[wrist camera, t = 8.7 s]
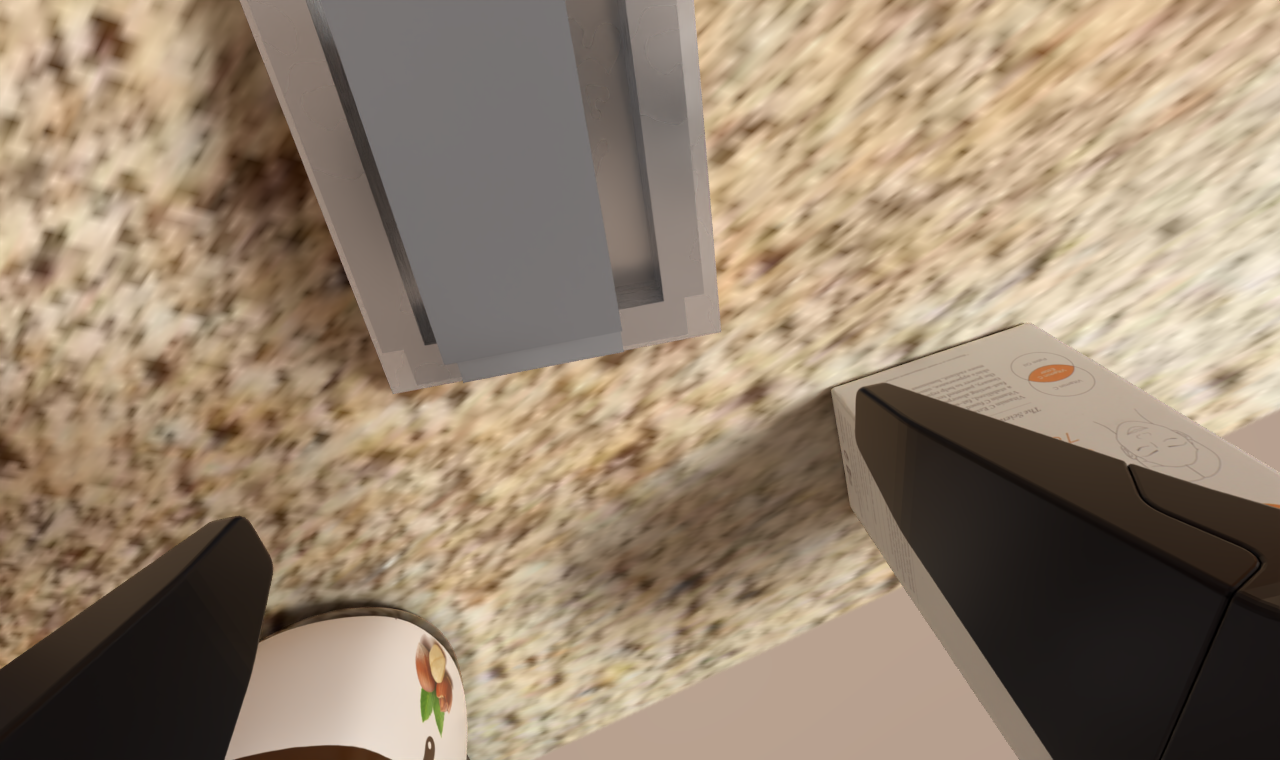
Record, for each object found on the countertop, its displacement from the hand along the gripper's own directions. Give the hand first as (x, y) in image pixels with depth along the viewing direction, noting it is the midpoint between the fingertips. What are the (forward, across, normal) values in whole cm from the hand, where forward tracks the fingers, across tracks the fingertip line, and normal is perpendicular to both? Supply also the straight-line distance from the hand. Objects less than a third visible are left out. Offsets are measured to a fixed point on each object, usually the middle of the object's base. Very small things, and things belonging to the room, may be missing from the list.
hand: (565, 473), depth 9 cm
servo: (+11, 0, -3) cm, 12 cm away
